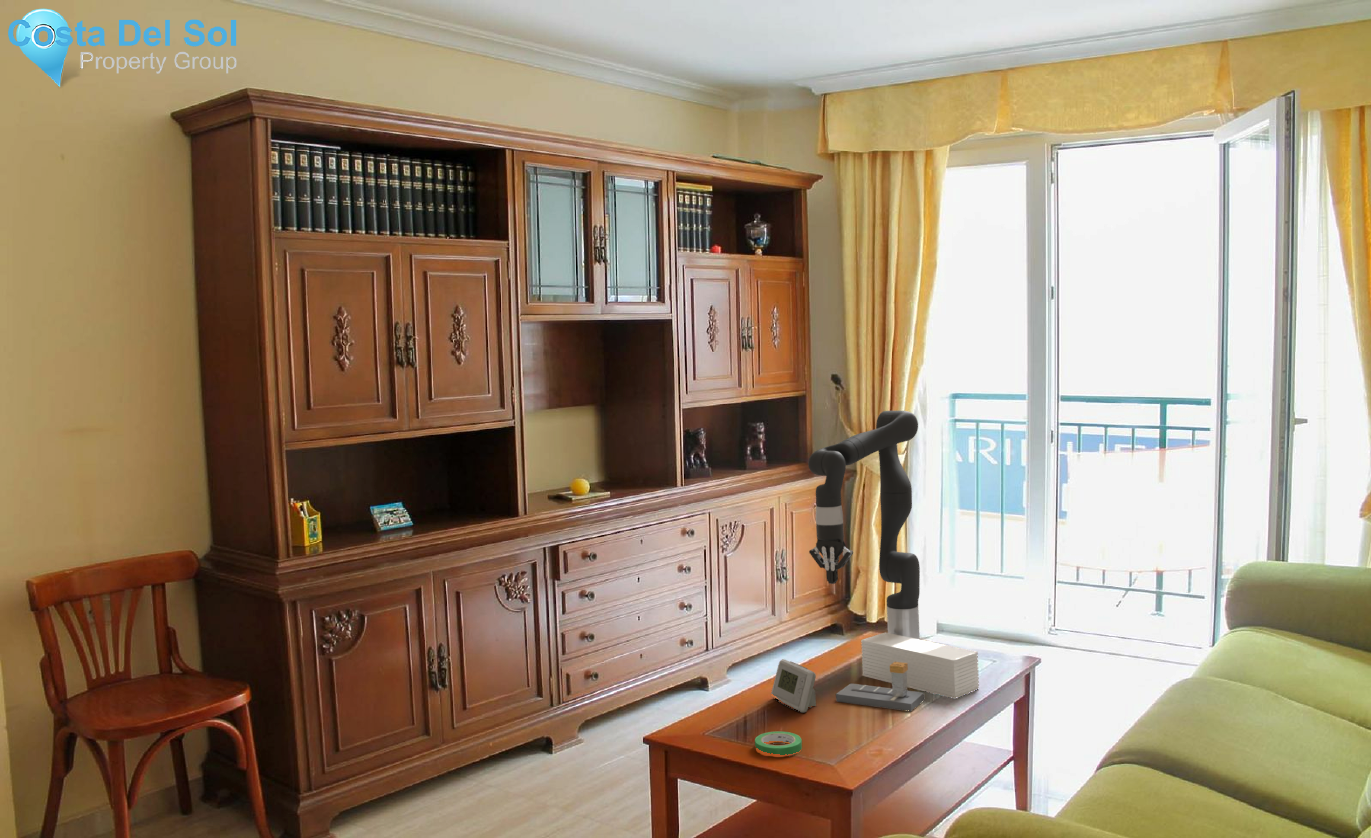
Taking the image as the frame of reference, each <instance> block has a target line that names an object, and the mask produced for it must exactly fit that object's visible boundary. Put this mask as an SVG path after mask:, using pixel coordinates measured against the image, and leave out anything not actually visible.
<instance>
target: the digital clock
mask: <svg viewBox="0 0 1371 838" xmlns="http://www.w3.org/2000/svg"><path fill="white" fill-rule="evenodd" d="M816 677H817V675H816V673H815V672H814V671H812V670H810V669H808V668H807V667H805V666H803V665H801V664H798V663H796V662H793V661H792V660H791V661H789V660H787V659H785V658H784V659H781V660H780V661H779V662H778V665H777V669H776V673H775V677H774V682H773V685H772V688H771V693H770V695H771V694H773V695H774V696H776V697H777V698H778V699H779V700H781V701H782V702H783V703H785V704H787V705H789V706H791V707H793V708H794V709H796V710H798V711H797V712H799V711H800V712H799V713H802V714H803V713H807V711H808V709H809V708H808V707H810V708H812V707H811V706H815V707H816V706H817V703H816V698H817V697H816V690H815V688H814V685H815V682H816ZM794 709H793V710H794ZM796 710H795V711H796Z"/></svg>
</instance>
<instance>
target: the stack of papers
mask: <svg viewBox="0 0 1371 838" xmlns="http://www.w3.org/2000/svg"><path fill="white" fill-rule="evenodd" d="M860 643H861V644H860V645H861V660H862V661H861V662H862V665H861V666H862V677H866V678H871V679H873V680H874V679H875V680H879V681H882V682H886V683H890V684H892V673H891V672H890V665H891V664H892V663H893V662H902V663H908V670H907V671H906V673H907V688H909V689H914V690H917V691H920V692H921V691H922V692H925V691H927V692H926V693H929V692H930V693H929V694H933V693H934V694H933V695H936V694H940V695H944V696H947V697H946V698H948V697H952V698H956V697H960V696H962V695H964V694H967V695H969V694H968V693H969V692H971V691H974V690H976V689H978V688H979V689H980V680H979V679H980V678H979V659H978V658H979V656H978V654H979V652H978V651H975V650H973V649H972V650H971V649H966V648H961V647H956V646H953V645H948V644H942V643H940V642H939V643H937V642H933V641H929V640H924V639H920V640H919V639H915V638H910V637H905V636H900V635H896V634H891V633H888V632H886V631H885V632H883V633H878V634H876V635H872V636H868V637H866V638H864V639H861V641H860ZM940 695H939V696H940ZM944 696H943V697H944ZM962 697H963V696H962ZM952 698H951V699H952ZM960 698H961V697H960Z"/></svg>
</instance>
